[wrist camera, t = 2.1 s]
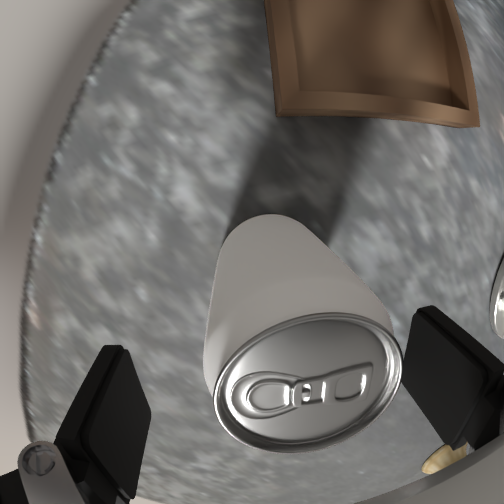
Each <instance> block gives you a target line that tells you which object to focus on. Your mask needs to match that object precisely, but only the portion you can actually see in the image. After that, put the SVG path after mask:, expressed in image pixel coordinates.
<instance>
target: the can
mask: <svg viewBox="0 0 504 504" xmlns="http://www.w3.org/2000/svg"><path fill="white" fill-rule="evenodd" d="M403 367H404V364H403V355H402V351H401V348H400V346H399V344H398V342H397V340H396V339H395V337H394V331H393V326H392V322H391V319H390V317H389V314H388V312H387V310H386V309H385V307H384V306H383V304H382V303H381V301H380V300H379V298H378V297H377V296H376V295H375V294H374V293H373V292H372V290H371V289H370V288H369V287H368V286H367V285H366V284H365V283H364V282H363V281H362V280H361V279H360V278H359V277H358V276H357V275H356V274H355V273H354V272H353V271H352V270H351V269H350V268H349V267H348V266H347V265H346V264H345V263H344V262H343V261H342V260H341V259H340V258H339V257H338V256H337V255H336V254H335V253H334V252H333V251H331V250H330V249H329V248H328V247H327V246H326V245H325V244H324V243H323V242H322V241H321V240H320V239H319V238H318V237H316V236H315V235H314V234H313V233H312V232H311V231H310V230H309V229H308V228H306V227H305V226H304V225H303V224H301V223H300V222H298V221H296V220H294V219H292V218H290V217H287V216H283V215H276V214H267V215H260V216H256V217H253V218H250V219H248V220H246V221H244V222H243V223H241V224H240V225H238V226H237V227H236V228H235V229H234V230H233V231H232V232H231V233H230V234H229V235H228V237H227V238H226V240H225V241H224V243H223V245H222V248H221V250H220V253H219V256H218V261H217V266H216V271H215V277H214V283H213V289H212V295H211V301H210V308H209V314H208V321H207V328H206V335H205V343H204V353H203V368H204V376H205V380H206V383H207V386H208V388H209V391H210V393H211V395H212V396H213V405H214V410H215V413H216V416H217V418H218V420H219V422H220V423H221V425H222V426H223V428H224V429H225V430H226V431H227V432H228V433H229V434H230V435H231V436H232V437H234V438H235V439H236V440H238V441H239V442H241V443H243V444H245V445H247V446H249V447H252V448H254V449H257V450H261V451H265V452H270V453H277V454H301V453H309V452H314V451H319V450H323V449H326V448H329V447H332V446H335V445H337V444H340V443H342V442H344V441H346V440H348V439H350V438H352V437H354V436H356V435H357V434H359V433H360V432H362V431H363V430H365V429H366V428H368V427H369V426H370V425H371V424H372V423H374V422H375V421H376V420H377V419H378V418H379V417H380V416H381V415H382V414H383V413H384V411H385V410H386V409H387V408H388V406H389V405H390V404H391V402H392V401H393V399H394V397H395V395H396V393H397V391H398V389H399V387H400V384H401V380H402V376H403Z"/></svg>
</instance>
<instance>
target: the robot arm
mask: <svg viewBox="0 0 504 504" xmlns="http://www.w3.org/2000/svg"><path fill="white" fill-rule="evenodd" d="M490 322H491V326H492V329H493V331H494V332H495V333H496V334H497V335H498V336H499V337H501V338H502V339H504V258H503V261H502V263H501V266H500V268H499V270H498V273H497V277H496V280H495V283H494V287H493V291H492V295H491V302H490ZM403 364H404V367H403V376H402V380H401V382H402V384H403V385H404V387H405V388H406V389H407V391H408V392H409V394H410V395H411V396H412V398H413V399H414V400H415V402H416V403H417V405H418V406H419V407H420V409H421V410H422V412H423V413H424V415H425V416H426V417H427V419H428V420H429V422H430V423H431V425H432V426H433V427H434V429H435V430H436V432H437V433H438V435H439V436H440V438H441V439H442V441H443V442H444V443H445V444H446V445H449V446H450V447H451V448H452V450H453V451H455V450H457V449H458V448H460V447H462V446H464V445H465V444H466V443H467V442H468V443H469V444H470V448H469V455H467V456H465V457H464V458H462V459H460V460H458V461H456V462H455V463H453V464H451V465H449V466H447V467H445V468H443V469H441V470H439V471H437V472H435V473H433V474H431V475H429V476H426V477H424V478H422V479H420V480H417V481H415V482H413V483H410V484H408V485H406V486H403V487H401V488H398V489H395V490H393V491H390V492H387V493H385V494H382V495H379V496H376V497H373V498H370V499H367V500H364V501H361V502H357V503H354V504H504V375H503V373H504V364H503V363H502V362H501V361H500V360H499V359H498V358H497V357H495V356H494V355H493V354H492V353H491V352H490V351H489V350H487V349H486V348H485V347H484V346H483V345H482V344H480V343H479V342H478V341H477V340H476V339H474V338H473V337H472V336H471V335H470V334H469V333H467V332H466V331H465V330H464V329H462V328H461V327H460V326H459V325H458V324H456V323H455V322H454V321H453V320H451V319H450V318H449V317H448V316H446V315H445V314H444V313H443V312H441V311H440V310H439V309H438V308H436V307H435V306H433V305H430V306H426V307H422V308H419V309H417V311H416V313H415V314H414V315H413V317H412V323H411V328H410V333H409V338H408V343H407V348H406V352H405V357H404V361H403ZM150 421H151V410H150V407H149V404H148V402H147V399H146V397H145V394H144V392H143V389H142V387H141V384H140V381H139V379H138V376H137V373H136V370H135V367H134V365H133V362H132V359H131V356H130V353H129V351H128V350H127V349H124V348H123V347H122V346H121V345H104V346H103V347H102V349H101V351H100V352H99V354H98V356H97V358H96V360H95V361H94V363H93V365H92V367H91V369H90V370H89V372H88V374H87V376H86V378H85V380H84V381H83V383H82V385H81V387H80V389H79V391H78V393H77V395H76V397H75V399H74V400H73V402H72V404H71V406H70V408H69V410H68V412H67V414H66V416H65V418H64V420H63V422H62V424H61V427H60V429H59V431H58V433H57V435H56V439H55V441H54V443H51V442H48V441H36V442H32V443H31V444H29V445H27V446H26V447H25V448H24V449H23V450H22V451H21V453H20V454H19V457H18V469H16V470H14V471H12V472H9V473H7V474H4V475H2V476H0V504H129V502H130V499H134V498H135V495H136V490H137V485H138V479H139V474H140V469H141V464H142V459H143V454H144V449H145V444H146V439H147V435H148V430H149V425H150Z"/></svg>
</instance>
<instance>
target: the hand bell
mask: <svg viewBox="0 0 504 504" xmlns="http://www.w3.org/2000/svg"><path fill="white" fill-rule="evenodd" d="M467 443H468V442H467ZM467 443H466V444H465V445H464V446H462V447H460V448H458V449H457V450H455V451H453V450H452V448H451V447H450V446H449V445H446V444H445V445H444V446H442V447H441V448H440V449H438V450H437V451H436V452H434V453H433V454H432V455H431V456H430V457H429V458H428V459H427V460H426V461H425V463H424V464H423V466H422V471H423V472H424V473H430V474H433V473H435V472H437V471H439V470H441V469H443V468H445V467H447V466H449V465H451V464H453V463H455V462H456V461H458V460H460V459H462V458H464V457H465V456H467V455H466V446H467Z"/></svg>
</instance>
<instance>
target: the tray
mask: <svg viewBox="0 0 504 504" xmlns="http://www.w3.org/2000/svg"><path fill="white" fill-rule="evenodd" d="M264 6H265V15H266V23H267V31H268V40H269V49H270V59H271V69H272V79H273V89H274V100H275V111H276V117H283V116H344V117H366V118H381V119H393V120H403V121H412V122H421V123H429V124H436V125H443V126H449V127H455V128H469V127H480V121H479V112H478V103H477V96H476V90H475V84H474V78H473V73H472V68H471V63H470V58H469V54H468V50H467V45H466V42H465V38H464V34H463V30H462V27H461V24H460V20H459V17H458V14H457V11H456V8H455V5H454V2H453V0H264Z"/></svg>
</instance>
